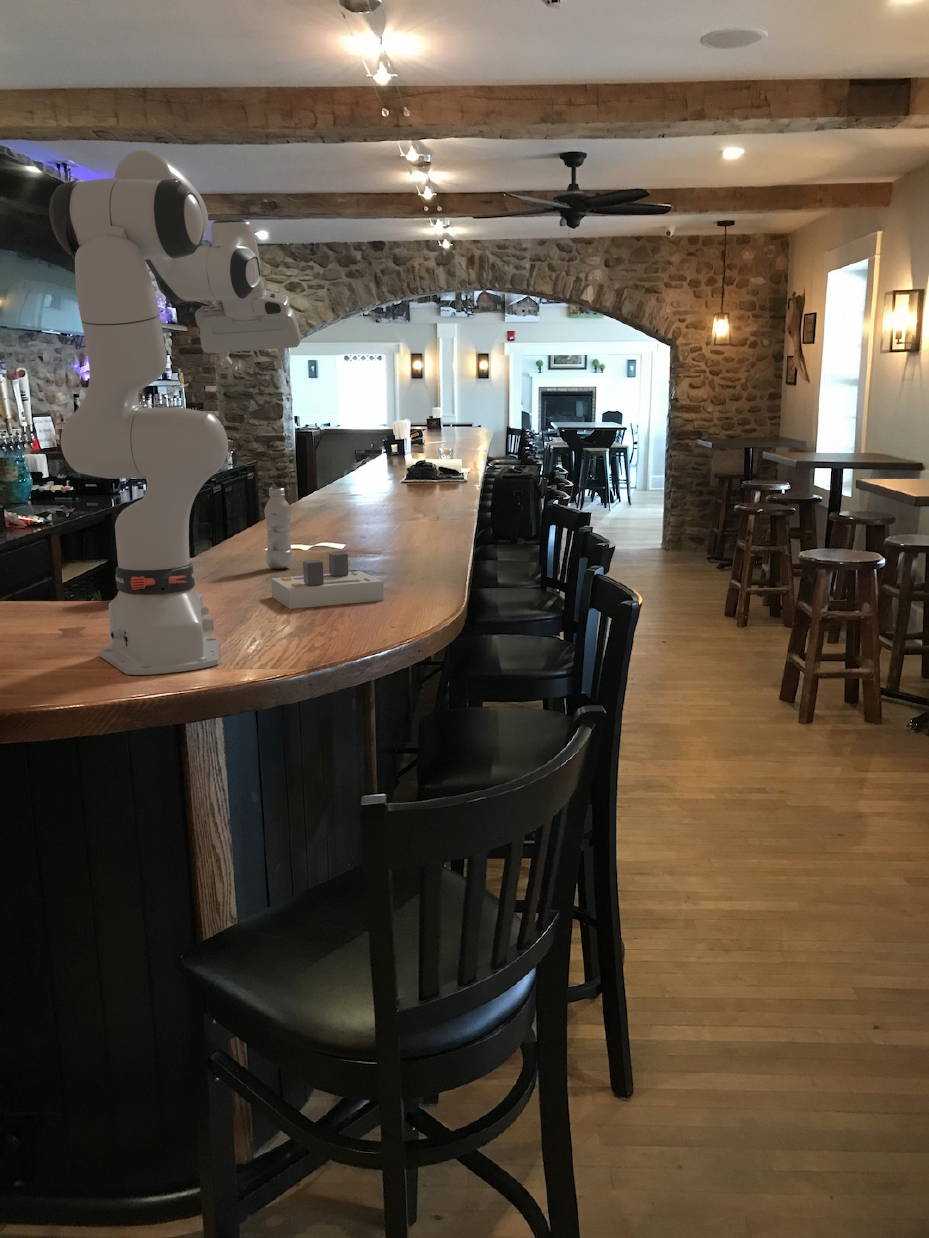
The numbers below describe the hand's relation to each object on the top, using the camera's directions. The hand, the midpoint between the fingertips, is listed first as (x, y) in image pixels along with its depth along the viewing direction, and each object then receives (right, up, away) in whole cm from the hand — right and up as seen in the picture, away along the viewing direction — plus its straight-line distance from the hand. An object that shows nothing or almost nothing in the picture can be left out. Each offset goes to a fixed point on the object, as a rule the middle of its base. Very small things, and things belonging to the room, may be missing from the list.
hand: (256, 370), depth 196 cm
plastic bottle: (-2, -40, +37) cm, 55 cm away
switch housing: (+15, -48, 0) cm, 50 cm away
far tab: (+17, -43, +4) cm, 46 cm away
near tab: (+13, -45, -6) cm, 47 cm away
